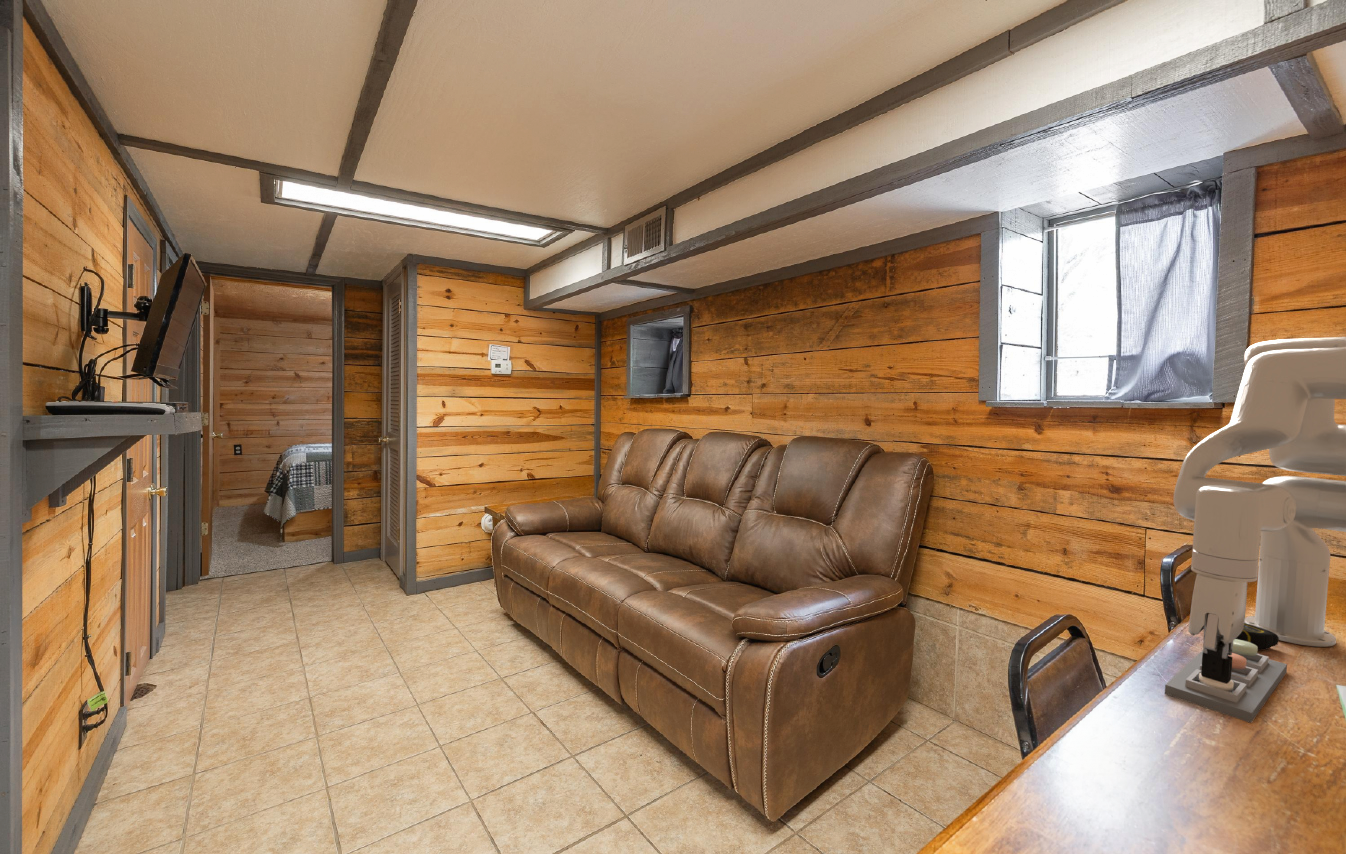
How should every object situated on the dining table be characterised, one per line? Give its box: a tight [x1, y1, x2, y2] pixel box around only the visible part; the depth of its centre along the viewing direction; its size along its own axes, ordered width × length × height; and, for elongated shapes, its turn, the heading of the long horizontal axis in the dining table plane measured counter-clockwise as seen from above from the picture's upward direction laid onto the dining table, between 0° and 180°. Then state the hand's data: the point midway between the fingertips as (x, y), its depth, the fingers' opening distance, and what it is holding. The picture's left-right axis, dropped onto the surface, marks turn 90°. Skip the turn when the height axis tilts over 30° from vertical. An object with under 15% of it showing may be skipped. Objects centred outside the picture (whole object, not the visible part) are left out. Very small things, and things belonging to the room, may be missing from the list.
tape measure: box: [1235, 623, 1280, 651], centre depth 111 cm, size 7×7×4 cm
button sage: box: [1232, 639, 1259, 656], centre depth 101 cm, size 4×4×1 cm
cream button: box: [1199, 673, 1234, 692], centre depth 92 cm, size 4×4×1 cm
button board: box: [1164, 649, 1288, 724], centre depth 97 cm, size 26×10×3 cm, turn 125°
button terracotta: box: [1228, 653, 1247, 669], centre depth 96 cm, size 4×4×1 cm
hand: (1215, 678), depth 92 cm, fingers closed
